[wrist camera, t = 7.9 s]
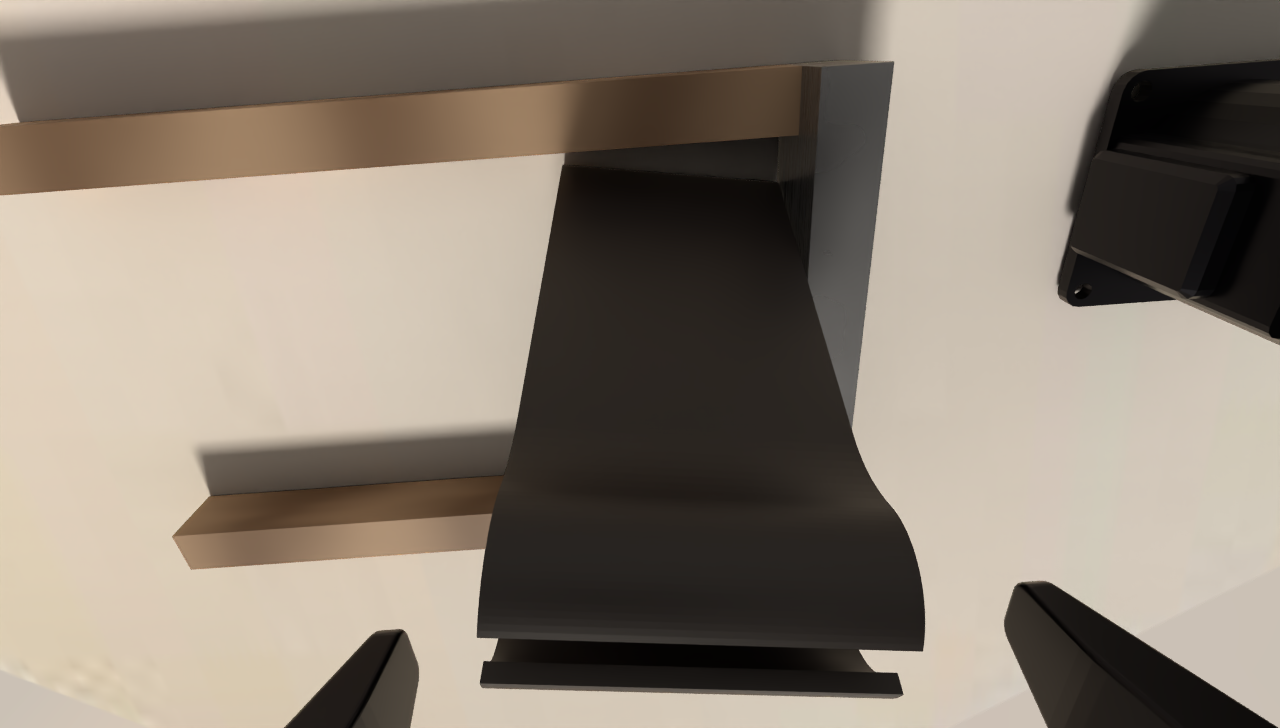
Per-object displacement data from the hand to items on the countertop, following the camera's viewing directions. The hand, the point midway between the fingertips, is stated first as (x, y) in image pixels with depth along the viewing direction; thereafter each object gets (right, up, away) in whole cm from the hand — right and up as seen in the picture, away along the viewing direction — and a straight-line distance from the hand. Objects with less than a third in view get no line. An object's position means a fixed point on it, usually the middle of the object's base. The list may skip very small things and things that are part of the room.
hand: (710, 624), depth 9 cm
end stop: (+4, +5, +10) cm, 12 cm away
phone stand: (-1, +5, +10) cm, 11 cm away
